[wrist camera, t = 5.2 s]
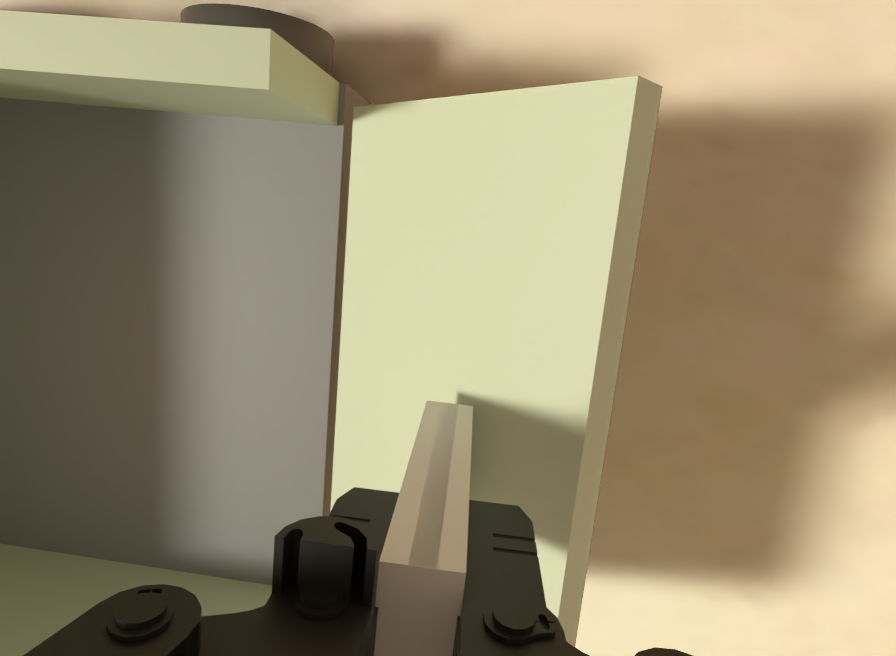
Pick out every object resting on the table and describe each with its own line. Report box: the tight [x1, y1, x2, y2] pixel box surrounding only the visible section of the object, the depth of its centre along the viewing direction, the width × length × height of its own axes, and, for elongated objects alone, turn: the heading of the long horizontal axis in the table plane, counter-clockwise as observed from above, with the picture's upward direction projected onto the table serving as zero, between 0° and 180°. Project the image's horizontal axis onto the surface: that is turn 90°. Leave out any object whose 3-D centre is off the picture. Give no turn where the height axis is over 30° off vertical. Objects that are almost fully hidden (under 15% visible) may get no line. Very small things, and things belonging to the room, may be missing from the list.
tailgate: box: [330, 76, 662, 647], centre depth 16 cm, size 17×1×9 cm
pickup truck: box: [0, 4, 370, 656], centre depth 17 cm, size 21×18×11 cm
